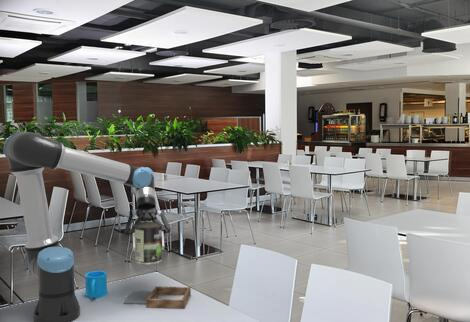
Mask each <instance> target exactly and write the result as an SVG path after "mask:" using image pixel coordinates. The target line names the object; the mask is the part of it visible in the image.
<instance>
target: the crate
mask: <svg viewBox="0 0 470 322" xmlns="http://www.w3.org/2000/svg"><path fill="white" fill-rule="evenodd" d="M158 295H159V296H182V299H178V298H177V299H173V298H170V299H169V298H168V299H167V298H157V296H158ZM190 296H191V287H189V286H154V288H153V289H152V292H151V294H150V295H149V297H148V298H147V299H146V304H145V307H146V308H148V309H150V308H151V309H181V310H182V309H185V308H186V306H187V303H188V301H189V299H190Z"/></svg>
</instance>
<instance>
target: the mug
mask: <svg viewBox="0 0 470 322" xmlns="http://www.w3.org/2000/svg"><path fill="white" fill-rule="evenodd" d="M107 276H108V275H107V272H106V271H103V270H95V271H89V272H87V273H85V275H84V278H85V279H84V281H85V283H84V284H85V297H86V298H90V299H99V298H103V297H104V296H107V294H108V286H107V285H108V282H107V278H108V277H107Z"/></svg>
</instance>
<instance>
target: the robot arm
mask: <svg viewBox="0 0 470 322" xmlns="http://www.w3.org/2000/svg"><path fill="white" fill-rule="evenodd" d="M3 153H4V156H5V158H6V159H7V161H8V166H9V172H10V174H13V176H15V178H16V183H17V188H18V194H19V199H20V205H21V210H22V215H23V220H24V226H25V230H26V234H27V235H26V236H27V241H26V242H25V244H24V250H25V256H24V261H25V262H24V263H25V266H26V269H27V270H28V271H29V272H30V273H31V274H32V275H33V276H35V278H36V279H37V280H38V281H37V283H38V285H37V286H38V299H37V302H36V305H35V308H34V312H33V321H34V322H72V321H74V320H76V319H77V318H79V317H80V316H81V307H80V303H79V300H78V298H77V296H76V293H75V292H76V291H75V258H74V253H73V251H72V250H71V249H70V248H68V247H65V246H64V247H63V246H61V245H60V241H59V237H58V236H57V235H54V233H53V227H52V222H51V221H52V220H51V217H50V209H49V205H48V204H49V203H48V200H47V195H46V189H45V183H44V177H43V171H44V170H45V168H46V169H49V170H52V171H53V170H56V169H62V170H66V171H69V172H70V171H71V172H75V173H78V174H82V175H86V176H90V177H95V178H100V179H103V180H107V181H111V182H114V183H119V184H121V185H125V186H128V187H131V188H134V189H135V193H136V196H135V197H136V210H134V211H133V210H131V209H130V210H129V212H128V213H129V214H128V219H127V223H126V225H125V228H124V235H126V236H129V243H130V244H132V251H133V252H135V224H138V223H143V222H157V223H161V221H162V250H163V251H165V242H166V241H167V238H168V237H167V234H170V233H171V226H170V224H169V221H168V219H167V217H166V215H165V209H161V210H158V209H157V204H156V203H157V202H156V190H155V189H156V187H155V175H154V170H152V169H151V168H150V167H147V166H146V167H144V166H141V167H139V166H134V165H131V164H127V163H124V162H120V161H116V160H113V159H110V158H105V157H103V156H98V155H95V154H92V153H89V152H84V151H81V150H77V149H74V148H70V147H67V146H64V144H63V142H60V141H56V140H53V139H51V138H48V137H46V136H44V135H41V134H39V133H36V132H30V131H29V132H27V131H18V132H15V133H12V134H11V135H10V136H8V138H6V140H5V142H4V145H3ZM157 215H158V216H159V217H160V219H161V221H160V220H159V219H158V217H157ZM135 216H137V219H136V221H135V222H134V224H133V226H132V227H131V225H132V223H133V218H135Z"/></svg>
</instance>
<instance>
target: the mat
mask: <svg viewBox="0 0 470 322" xmlns="http://www.w3.org/2000/svg"><path fill="white" fill-rule="evenodd" d="M152 291H153V290H152ZM152 291H150V290H149V291H145V290H143V291H142V290H140V291H139V290H132V291H131V293H130V294H129V295H128V296H127V298H126V299H125V300H124V301H123V304H124V305H146V299H147V298H148V297H149V295H150V294H151V292H152Z"/></svg>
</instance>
